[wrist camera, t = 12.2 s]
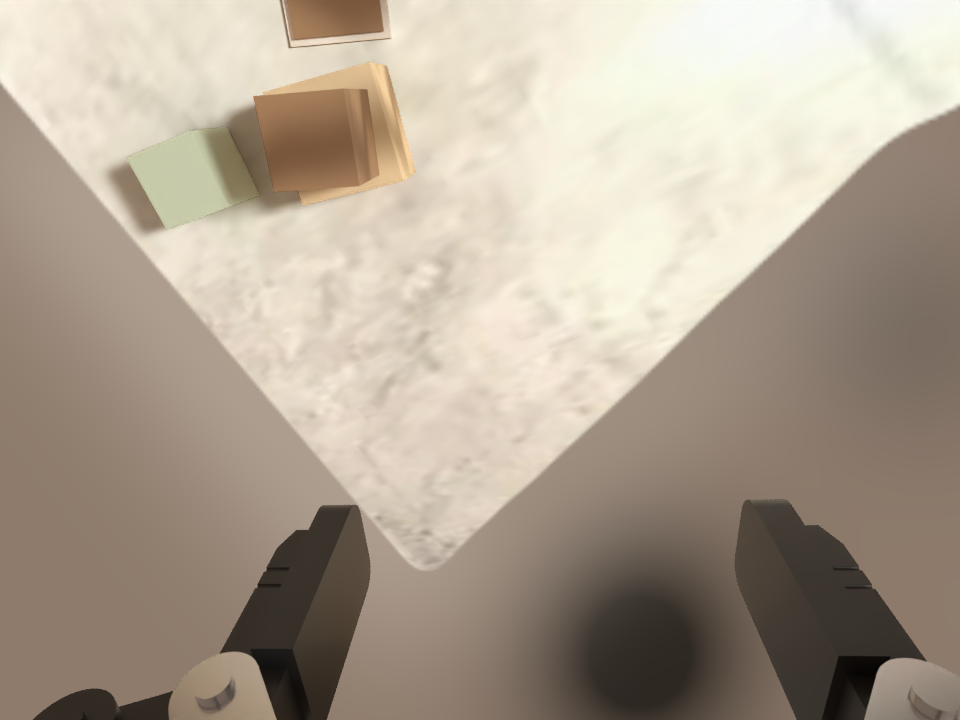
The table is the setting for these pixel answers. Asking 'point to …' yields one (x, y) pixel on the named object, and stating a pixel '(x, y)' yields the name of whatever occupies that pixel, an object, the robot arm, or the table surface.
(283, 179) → the walnut cube
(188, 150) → the sage cube
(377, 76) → the oak base block
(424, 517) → the table surface
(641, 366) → the table surface
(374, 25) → the walnut swatch
